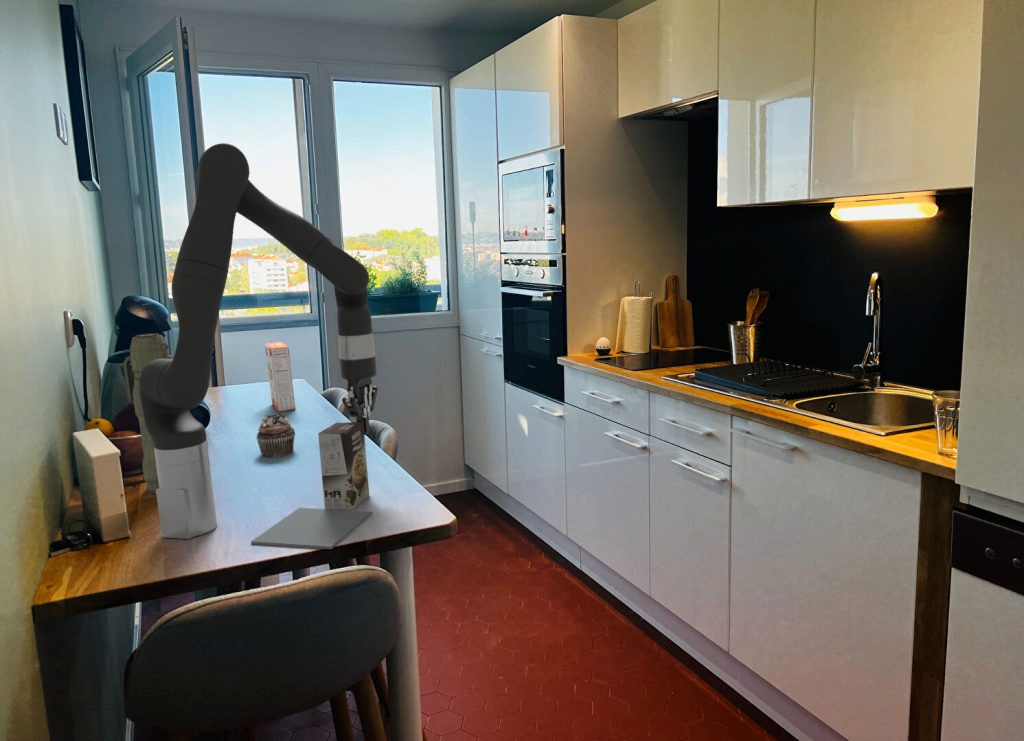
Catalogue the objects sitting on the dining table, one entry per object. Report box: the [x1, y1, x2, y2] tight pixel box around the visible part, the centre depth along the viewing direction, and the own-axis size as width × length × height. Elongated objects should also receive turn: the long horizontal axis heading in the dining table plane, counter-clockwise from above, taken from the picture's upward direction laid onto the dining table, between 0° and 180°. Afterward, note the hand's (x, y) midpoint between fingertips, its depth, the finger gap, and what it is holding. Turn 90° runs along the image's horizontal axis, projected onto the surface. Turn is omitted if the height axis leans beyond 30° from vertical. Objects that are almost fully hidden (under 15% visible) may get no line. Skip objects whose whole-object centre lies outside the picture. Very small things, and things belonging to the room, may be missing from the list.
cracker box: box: [264, 341, 296, 413], centre depth 248 cm, size 14×6×21 cm, turn 25°
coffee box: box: [317, 421, 370, 511], centre depth 155 cm, size 9×6×16 cm
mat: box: [250, 507, 373, 550], centre depth 144 cm, size 17×16×1 cm
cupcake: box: [256, 412, 296, 458], centre depth 196 cm, size 10×10×10 cm
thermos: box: [122, 333, 174, 494], centre depth 170 cm, size 9×12×35 cm
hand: (363, 433), depth 164 cm, fingers closed
